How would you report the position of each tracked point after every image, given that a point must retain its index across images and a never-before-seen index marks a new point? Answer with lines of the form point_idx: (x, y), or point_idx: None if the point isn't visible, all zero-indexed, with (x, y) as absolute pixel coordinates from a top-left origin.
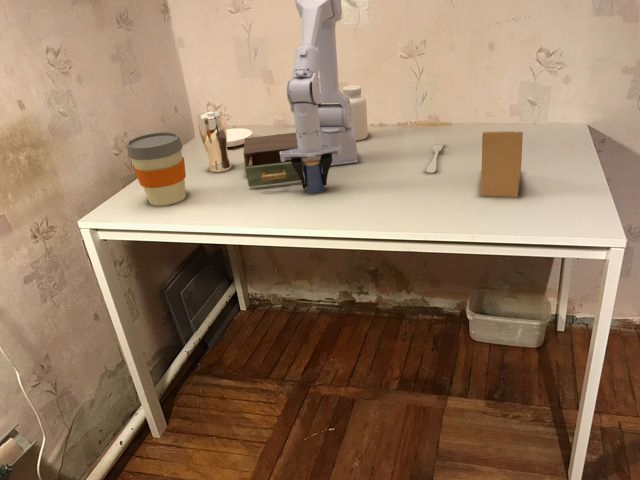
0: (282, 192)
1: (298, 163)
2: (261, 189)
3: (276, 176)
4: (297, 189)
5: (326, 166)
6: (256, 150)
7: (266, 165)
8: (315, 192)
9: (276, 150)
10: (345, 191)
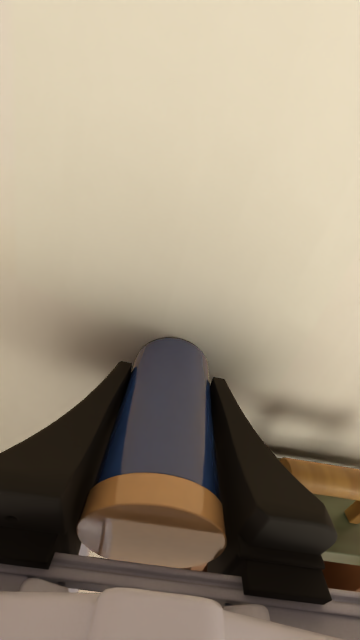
0: (290, 403)
1: (287, 528)
2: (337, 450)
3: (337, 477)
4: None
5: (64, 436)
6: None
7: (349, 558)
8: (179, 341)
9: None
10: (47, 299)
